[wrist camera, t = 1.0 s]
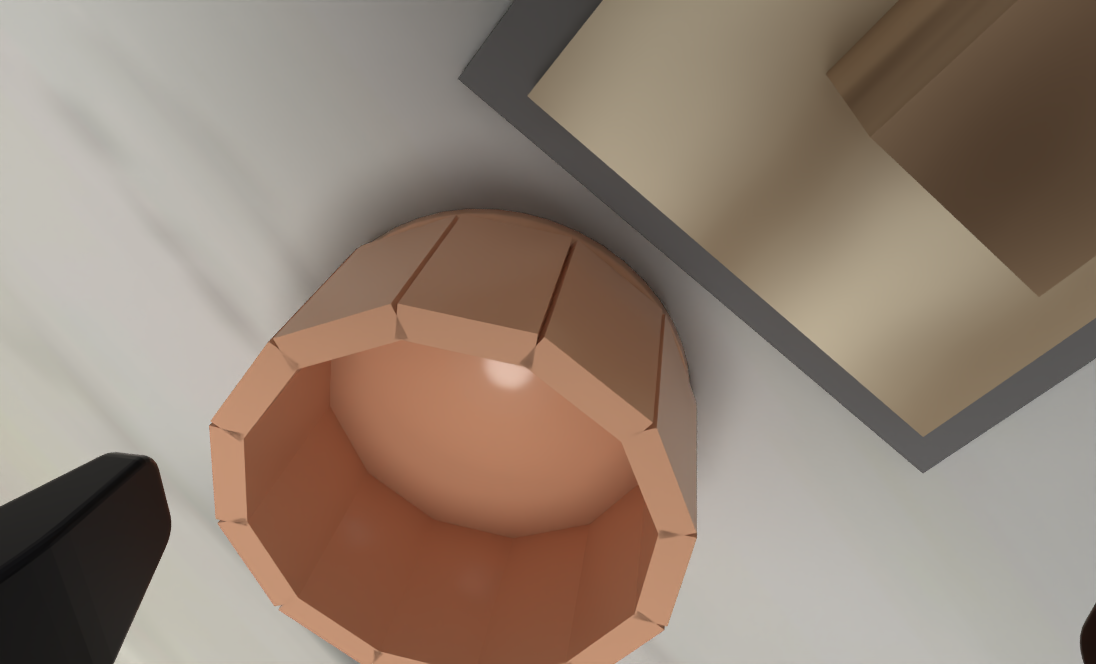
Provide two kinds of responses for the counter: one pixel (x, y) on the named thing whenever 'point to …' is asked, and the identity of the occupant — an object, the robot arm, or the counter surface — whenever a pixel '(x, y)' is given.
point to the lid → (864, 169)
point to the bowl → (468, 450)
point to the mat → (504, 84)
